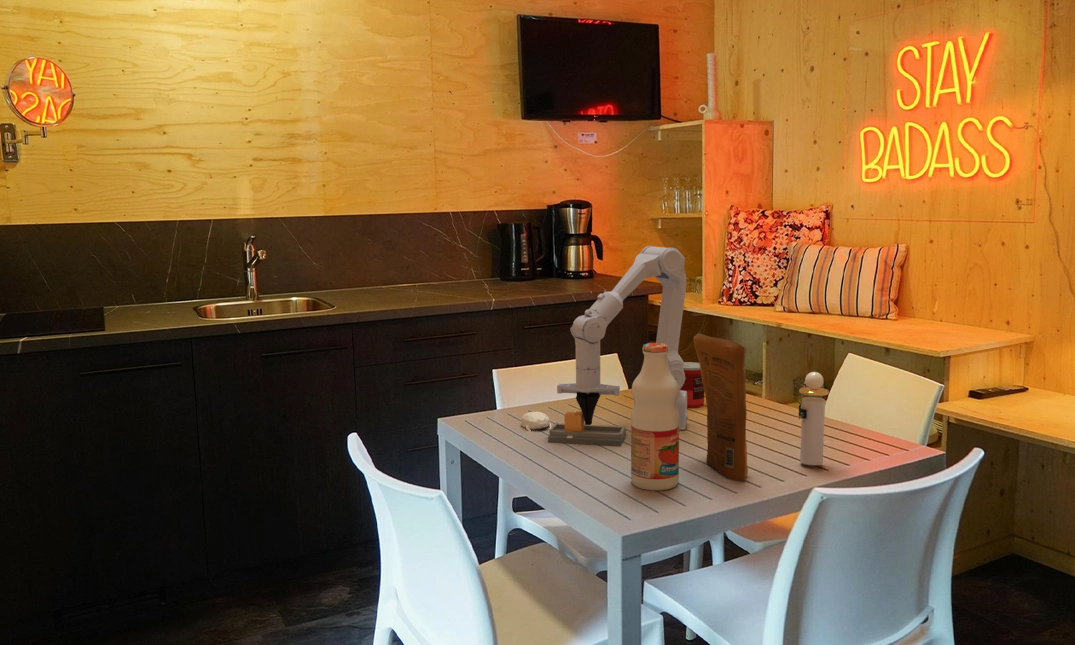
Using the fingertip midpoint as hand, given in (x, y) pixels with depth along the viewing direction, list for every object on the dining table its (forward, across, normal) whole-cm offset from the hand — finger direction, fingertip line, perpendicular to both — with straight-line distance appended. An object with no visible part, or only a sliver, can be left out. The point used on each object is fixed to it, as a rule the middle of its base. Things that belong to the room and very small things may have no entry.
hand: (588, 423), depth 198 cm
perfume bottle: (+4, +49, -11) cm, 51 cm away
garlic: (+4, -14, +7) cm, 16 cm away
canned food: (+4, +21, +35) cm, 41 cm away
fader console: (+3, 0, 0) cm, 3 cm away
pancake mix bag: (+4, +31, -17) cm, 36 cm away
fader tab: (+2, -3, 0) cm, 4 cm away
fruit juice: (+4, +18, -28) cm, 34 cm away
